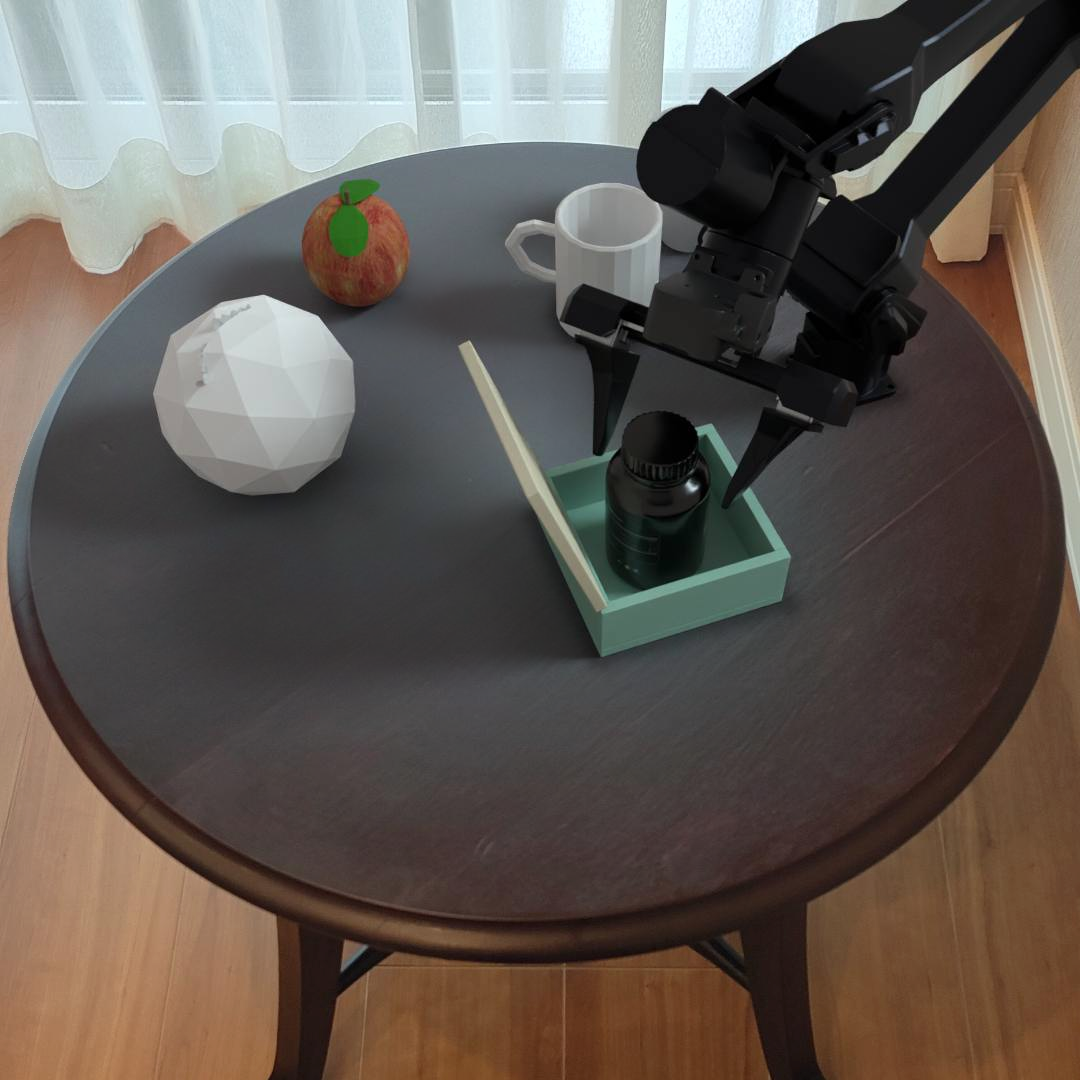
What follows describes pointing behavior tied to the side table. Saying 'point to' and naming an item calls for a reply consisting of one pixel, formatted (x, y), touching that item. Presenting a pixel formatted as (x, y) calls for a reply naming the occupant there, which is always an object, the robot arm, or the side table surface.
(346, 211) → the fruit
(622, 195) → the mug
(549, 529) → the lid
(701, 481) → the supplement bottle
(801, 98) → the robot arm
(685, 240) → the cup
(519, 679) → the side table surface
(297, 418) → the geodesic sphere
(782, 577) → the teal shallow box
